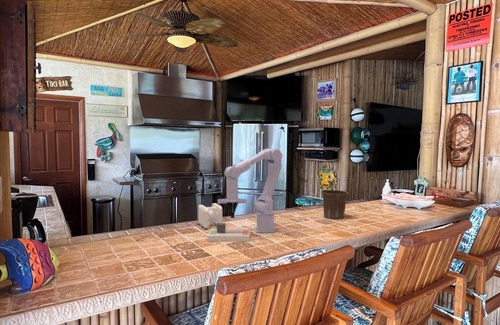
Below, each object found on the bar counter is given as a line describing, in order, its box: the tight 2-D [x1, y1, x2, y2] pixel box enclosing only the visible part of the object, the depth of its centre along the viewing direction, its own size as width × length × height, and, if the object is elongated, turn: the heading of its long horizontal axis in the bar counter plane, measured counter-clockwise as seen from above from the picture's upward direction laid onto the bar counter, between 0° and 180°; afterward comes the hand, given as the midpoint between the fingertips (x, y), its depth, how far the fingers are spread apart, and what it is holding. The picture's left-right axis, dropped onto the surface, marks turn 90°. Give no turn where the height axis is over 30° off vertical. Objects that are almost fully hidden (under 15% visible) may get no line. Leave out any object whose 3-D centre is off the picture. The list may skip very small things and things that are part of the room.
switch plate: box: [207, 228, 251, 242], centre depth 156 cm, size 20×12×2 cm, turn 89°
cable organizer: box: [197, 202, 223, 229], centre depth 178 cm, size 15×11×12 cm
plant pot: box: [321, 189, 349, 220], centre depth 197 cm, size 16×16×16 cm
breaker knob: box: [216, 222, 227, 233], centre depth 156 cm, size 4×3×4 cm
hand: (232, 217), depth 158 cm, fingers closed
